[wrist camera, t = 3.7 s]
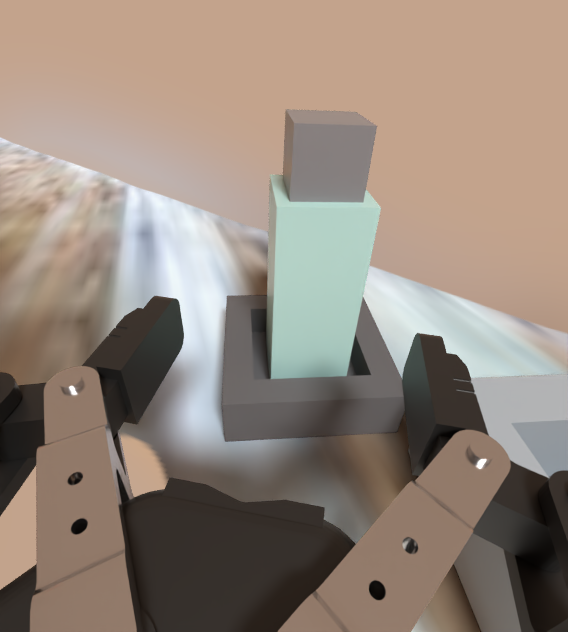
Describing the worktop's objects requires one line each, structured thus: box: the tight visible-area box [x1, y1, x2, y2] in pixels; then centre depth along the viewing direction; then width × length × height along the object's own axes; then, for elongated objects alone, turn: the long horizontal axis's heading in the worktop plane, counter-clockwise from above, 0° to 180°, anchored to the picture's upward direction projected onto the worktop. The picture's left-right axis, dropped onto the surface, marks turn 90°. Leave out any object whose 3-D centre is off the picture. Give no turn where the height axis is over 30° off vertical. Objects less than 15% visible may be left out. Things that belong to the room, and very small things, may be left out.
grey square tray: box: [222, 295, 405, 442], centre depth 24 cm, size 10×10×3 cm
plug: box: [266, 109, 381, 379], centre depth 20 cm, size 4×4×14 cm
